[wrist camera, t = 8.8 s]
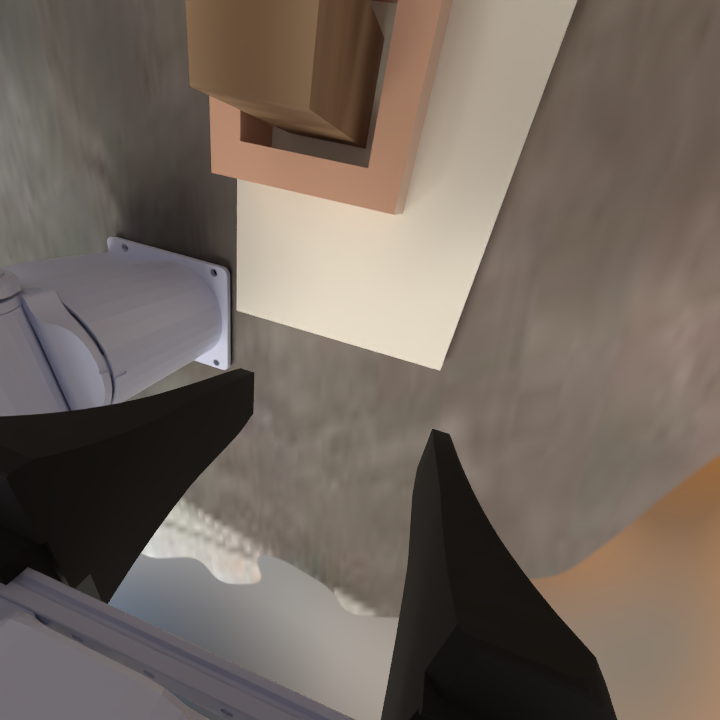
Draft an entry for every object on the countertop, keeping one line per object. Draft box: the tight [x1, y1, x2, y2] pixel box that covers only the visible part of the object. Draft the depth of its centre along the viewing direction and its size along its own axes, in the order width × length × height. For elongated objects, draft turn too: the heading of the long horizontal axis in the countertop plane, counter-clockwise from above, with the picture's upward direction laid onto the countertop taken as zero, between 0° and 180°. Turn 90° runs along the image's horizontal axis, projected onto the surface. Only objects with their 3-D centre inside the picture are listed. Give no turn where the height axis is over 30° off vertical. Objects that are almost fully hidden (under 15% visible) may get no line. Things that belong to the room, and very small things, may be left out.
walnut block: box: [185, 0, 384, 149], centre depth 12 cm, size 4×4×7 cm
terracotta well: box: [209, 0, 453, 215], centre depth 13 cm, size 9×9×3 cm
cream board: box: [237, 0, 577, 370], centre depth 17 cm, size 14×17×1 cm
